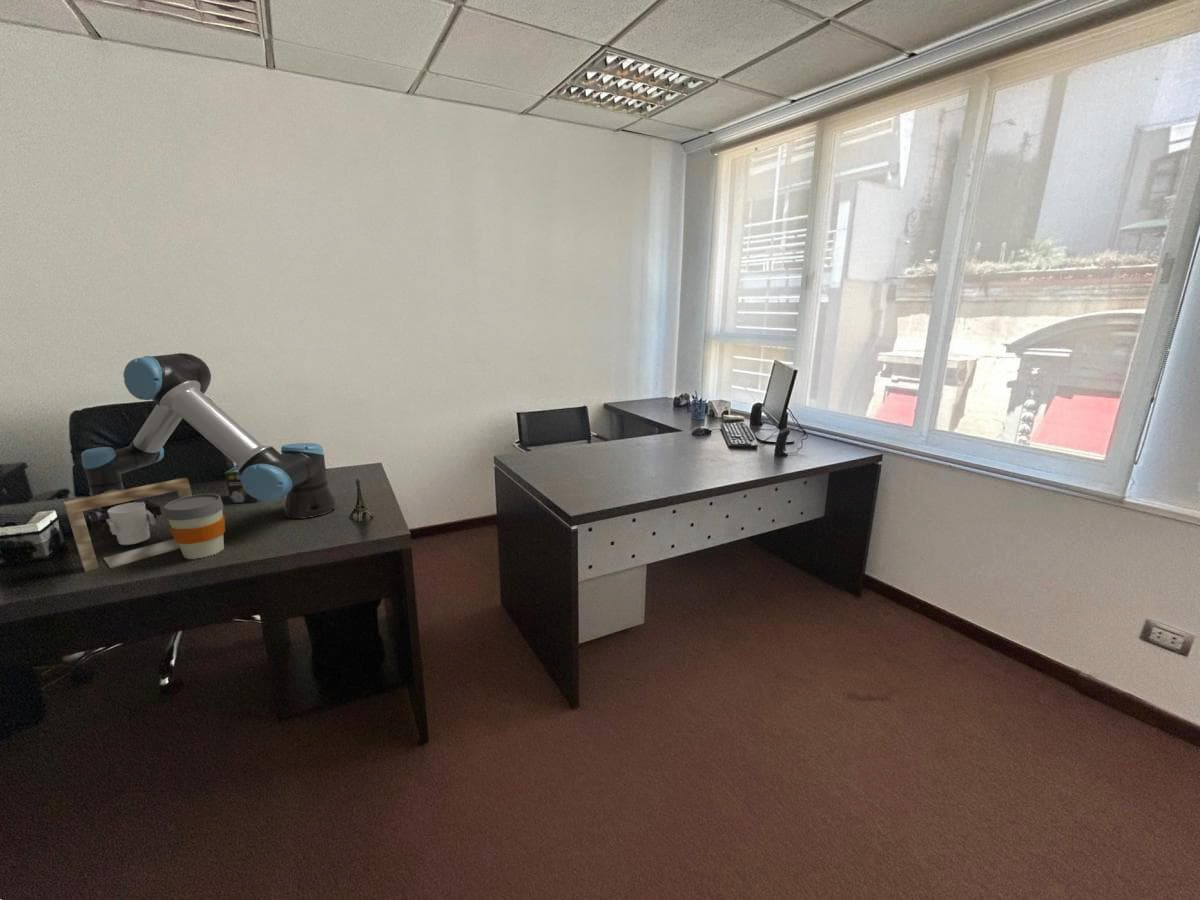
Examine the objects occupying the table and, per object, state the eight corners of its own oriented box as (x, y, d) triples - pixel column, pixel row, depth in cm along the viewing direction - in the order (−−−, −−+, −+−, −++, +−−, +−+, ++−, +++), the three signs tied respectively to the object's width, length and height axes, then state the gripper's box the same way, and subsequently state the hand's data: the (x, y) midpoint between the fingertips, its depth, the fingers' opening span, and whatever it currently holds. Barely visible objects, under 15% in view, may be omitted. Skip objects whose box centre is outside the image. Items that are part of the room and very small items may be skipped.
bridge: (195, 533, 151) (182, 475, 145) (204, 541, 146) (191, 481, 141) (81, 565, 132) (62, 499, 127) (87, 574, 127) (67, 507, 122)
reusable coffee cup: (168, 566, 132) (155, 513, 128) (184, 545, 143) (172, 496, 139) (225, 557, 137) (214, 506, 133) (236, 538, 148) (227, 491, 144)
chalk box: (271, 493, 183) (264, 454, 179) (258, 502, 175) (250, 462, 171) (244, 494, 182) (237, 455, 178) (229, 503, 174) (221, 462, 169)
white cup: (158, 537, 145) (151, 505, 143) (124, 548, 138) (116, 515, 136) (144, 531, 148) (136, 500, 146) (110, 542, 142) (101, 509, 139)
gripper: (161, 506, 161) (182, 525, 148) (71, 526, 146) (86, 550, 132) (156, 484, 159) (177, 502, 146) (64, 502, 143) (78, 524, 130)
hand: (134, 525), depth 139 cm, fingers closed on white cup, 7 cm apart
